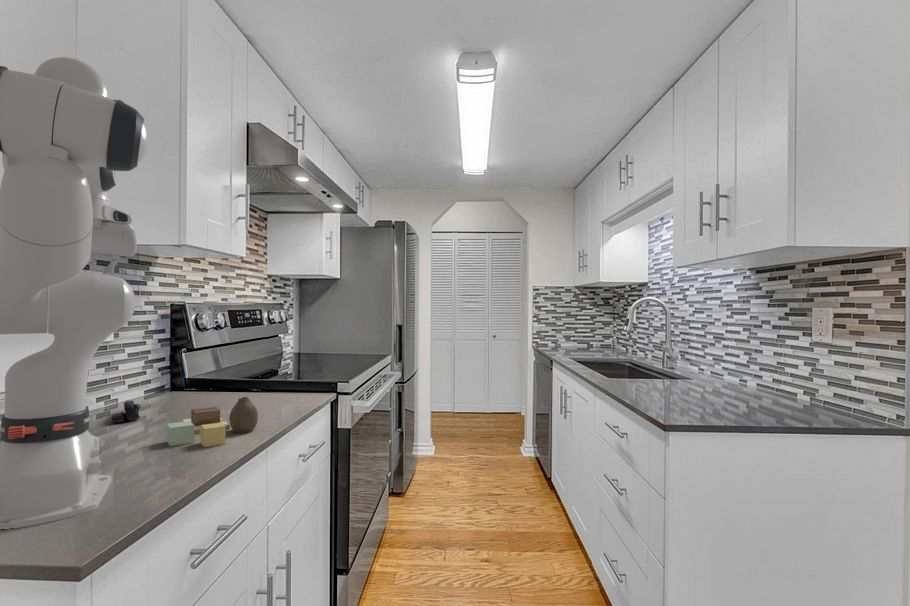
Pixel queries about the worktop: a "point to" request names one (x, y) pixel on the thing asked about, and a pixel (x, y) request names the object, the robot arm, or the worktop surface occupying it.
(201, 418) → the walnut brick
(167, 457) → the worktop surface
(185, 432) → the sage brick
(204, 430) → the ochre brick
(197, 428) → the board
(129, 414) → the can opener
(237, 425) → the vase
